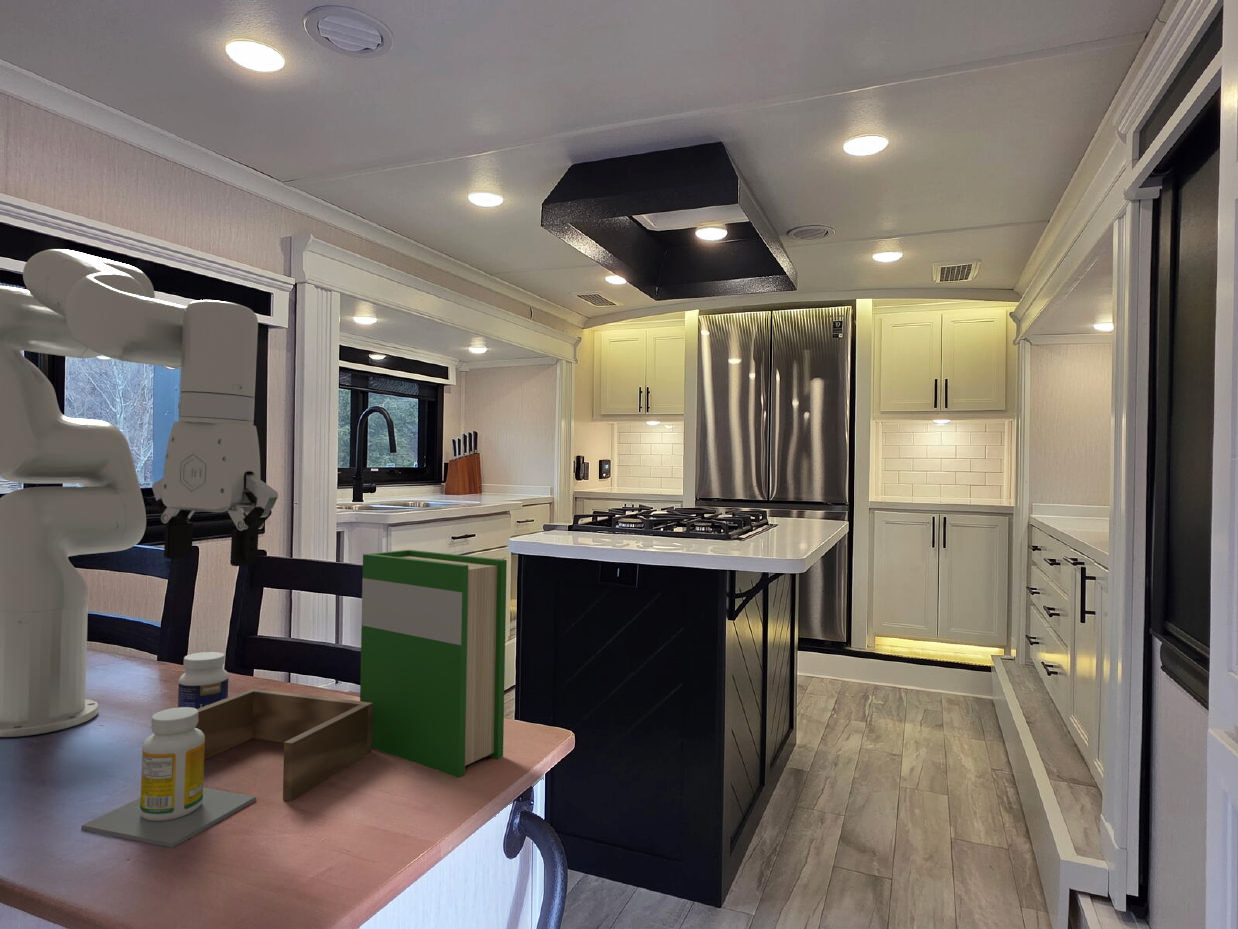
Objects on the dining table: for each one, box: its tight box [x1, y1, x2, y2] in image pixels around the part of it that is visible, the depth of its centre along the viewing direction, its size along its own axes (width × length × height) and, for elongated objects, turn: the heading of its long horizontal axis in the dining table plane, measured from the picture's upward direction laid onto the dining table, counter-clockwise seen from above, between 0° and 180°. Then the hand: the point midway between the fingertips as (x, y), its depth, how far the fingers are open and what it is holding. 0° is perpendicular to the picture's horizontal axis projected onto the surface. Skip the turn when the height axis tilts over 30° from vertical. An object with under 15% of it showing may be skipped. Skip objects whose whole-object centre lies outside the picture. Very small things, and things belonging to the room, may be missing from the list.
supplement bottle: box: [140, 707, 205, 821], centre depth 72 cm, size 5×5×10 cm
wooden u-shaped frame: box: [195, 688, 373, 802], centre depth 84 cm, size 18×14×6 cm
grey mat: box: [80, 787, 257, 849], centre depth 72 cm, size 11×10×1 cm
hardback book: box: [359, 549, 508, 778], centre depth 90 cm, size 18×7×24 cm, turn 57°
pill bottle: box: [177, 651, 229, 709], centre depth 95 cm, size 6×6×10 cm
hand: (210, 560), depth 82 cm, fingers open, 9 cm apart
